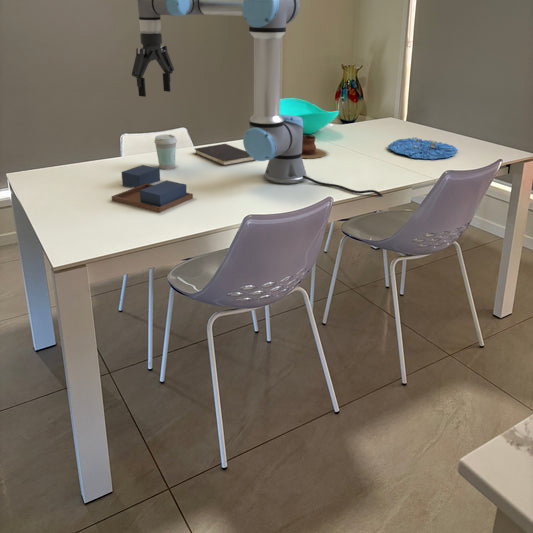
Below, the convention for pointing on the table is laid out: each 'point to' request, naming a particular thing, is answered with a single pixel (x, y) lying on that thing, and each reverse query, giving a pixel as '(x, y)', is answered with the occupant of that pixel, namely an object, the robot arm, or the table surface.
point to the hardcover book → (224, 154)
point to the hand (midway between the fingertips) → (155, 93)
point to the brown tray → (133, 199)
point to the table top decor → (307, 114)
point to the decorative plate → (422, 148)
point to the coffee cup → (166, 150)
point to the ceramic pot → (310, 148)
